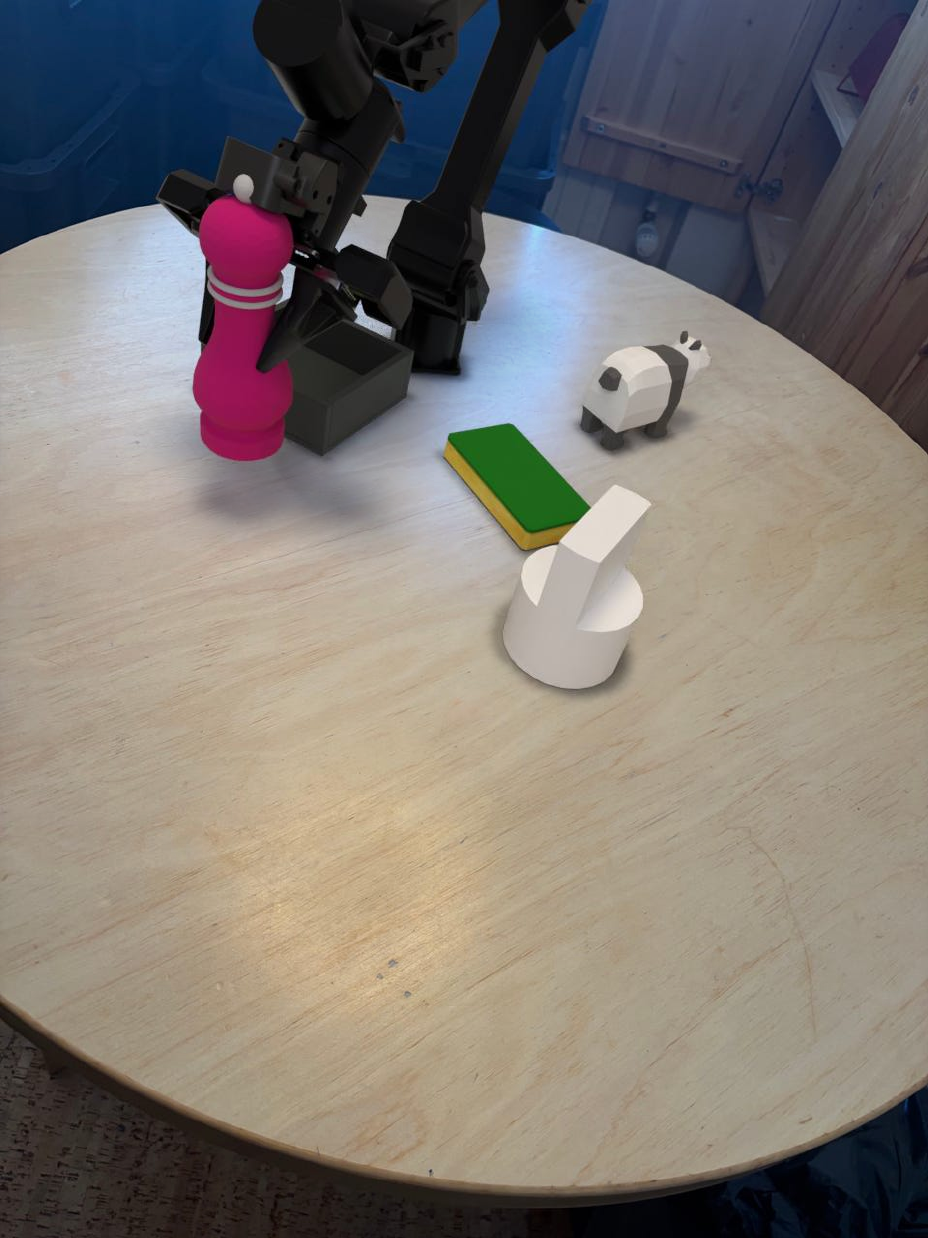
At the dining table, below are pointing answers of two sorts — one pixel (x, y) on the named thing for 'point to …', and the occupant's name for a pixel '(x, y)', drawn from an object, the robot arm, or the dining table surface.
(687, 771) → the dining table surface
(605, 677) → the base with upright slab
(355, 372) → the open rectangular box
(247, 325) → the pepper mill
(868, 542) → the dining table surface
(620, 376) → the giant panda
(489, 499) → the dish sponge
